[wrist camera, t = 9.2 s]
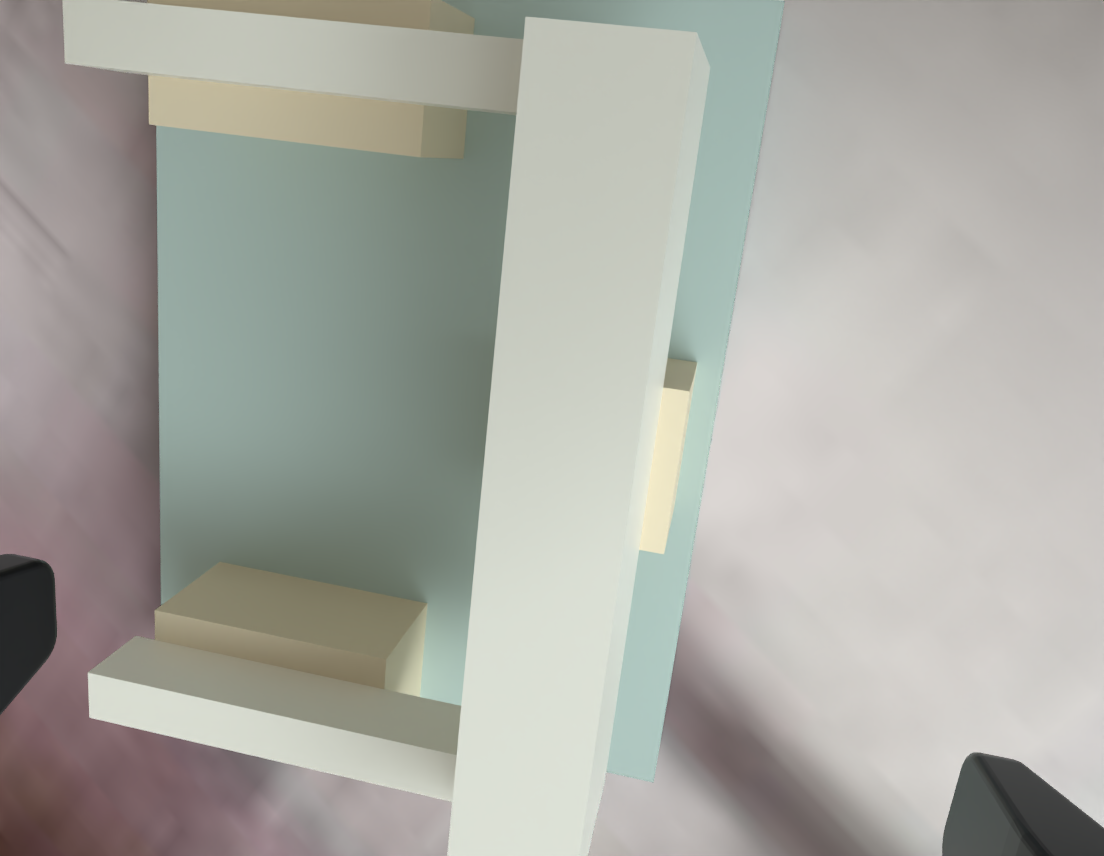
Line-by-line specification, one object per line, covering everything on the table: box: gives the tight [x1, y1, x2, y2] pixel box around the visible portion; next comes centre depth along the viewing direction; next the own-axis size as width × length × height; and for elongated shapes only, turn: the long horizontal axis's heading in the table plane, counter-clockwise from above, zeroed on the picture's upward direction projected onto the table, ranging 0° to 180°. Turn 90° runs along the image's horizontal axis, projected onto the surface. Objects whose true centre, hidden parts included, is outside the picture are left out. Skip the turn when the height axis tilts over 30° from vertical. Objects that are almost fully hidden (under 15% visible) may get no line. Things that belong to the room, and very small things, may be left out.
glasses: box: [63, 0, 710, 856], centre depth 15 cm, size 10×13×4 cm
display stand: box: [147, 0, 785, 783], centre depth 19 cm, size 12×16×4 cm
